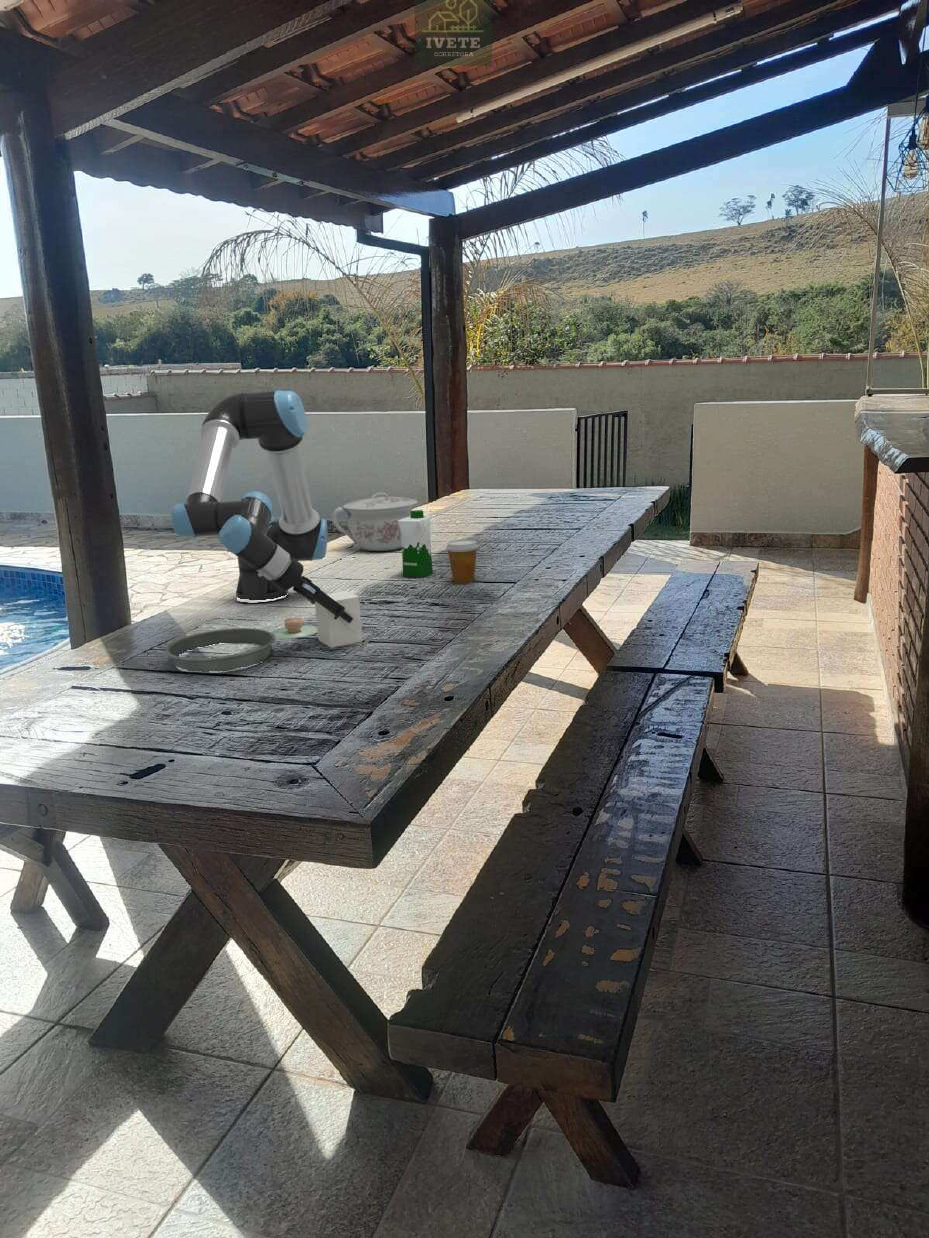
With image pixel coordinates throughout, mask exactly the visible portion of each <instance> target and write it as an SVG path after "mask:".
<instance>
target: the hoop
mask: <svg viewBox="0 0 929 1238" xmlns="http://www.w3.org/2000/svg"><path fill="white" fill-rule="evenodd" d="M271 632H272V631H269V630H265V629H261V628H255V627H254V628H252V627H251V628H250V627H246V628H245V627H236V628H233V627H232V628H221V629H214V630H208V631H203V632H202V631H201V632H198V633H194V634H191V635H188V636H183V637H181V638H179V639H177V640H174V641H172V642H171V643H169V645H167V646H166V648H165V649H164V651H165V652H164V653H165V654H166V655H167V656H168V657H169V658H171V659H172V662H173V664H174V666H175V665H176V666H177V667H180V668H182V669H186V670H188V671H198V672H199V671H201V672H209V671H228V670H233V669H236V668H241V667H247V666H250V665H253V664H257V663H260V662H262V661H264V660H265V659H267V658H268V657H269V656H270V655H271V654H272V653H271V652H272V644H273V643H274V642H275V641H276V639H277V638H276V637H275V635H274V634H273V633H271ZM219 643H232V644H251V643H255V644H254V645H259V647H256V648H254V649H251V650H248V651H243V652H240V653H235V654H229V655H223V656H210V657H211V658H185V657H179V654H182V653H184V652H185V651H187V650H193V649H195V648H197V647H204V648H206V647H205V646H209V645H213V644H219ZM209 647H210V646H209Z"/></svg>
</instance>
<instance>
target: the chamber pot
mask: <svg viewBox="0 0 929 1238" xmlns="http://www.w3.org/2000/svg"><path fill="white" fill-rule="evenodd" d="M418 502H419V501H418V500H417V499H413V498H409V497H402V496H388V494H387V493H385V492H376V493H374V494H373V495H371V497H369V498H363V499H357V500H353V501H350V502H348V503H345V504H344V505H343V506H337V508H335V509H334V511H333V513H332V523H333V525H334V527H335V528H336V529H337V530H338V532H341V533H342V534H344V535H346V537H348V538H350V540H351V541H352V542H353V543H355V544H356V545H357V546H358V547H359V548H360V549H362V550H364V551H367V552H371V551H385V552H392V551H397V550H400V549H402V546H401V533H400V529H399V525H398V520H401V519H403V518H407V517H411V511H413V510H412V508H413V506H415V505H417V504H418ZM340 513H344V514H345V515H346V521H347V526H348V529H349V531H348V530H346V529H343V528H342V526H341V525H340V524H339V522H338V517H337V516H338V514H340Z"/></svg>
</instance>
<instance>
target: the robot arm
mask: <svg viewBox="0 0 929 1238" xmlns="http://www.w3.org/2000/svg"><path fill="white" fill-rule="evenodd" d="M306 416H307V415H306V410H305V408H304V404H303V401H302V400H301V398H300V396H299V394H298V393H295V391H293V390H281V389H279V390H276V391H261V392H259V391H257V392H256V391H255V392H238V393H233V394H230V395H228V396H226V397H225V398H222V399H221V400H220V401H218V402H217V403H216V404H215V405H214V406H213V407H212V408H211V410H210V411H209V412H208V413H207V414H206V416H205V418H204V419H203V422H202V424H201V428H200V438H201V440H202V441H201V445H200V449H199V453H198V456H197V460H196V463H195V467H194V468H195V469H194V472H193V476H192V479H191V482H190V488H189V491H188V494H187V498H186V501H185V503H184V502H182V503H178V504H175V505H173V506H172V508H171V513H170V519H171V525H172V528H173V529H172V530H173V532H174V533H175V534H176V536H179V537H194V538H195V537H206V536H207V537H209V536H218V541H219V543H220V544H221V545H222V546H224V547H225V548H226V549H227V550H228V551H229V552H230V553H231V554H234V555H235V556H236V557H237V563H238V571H239V576H238V580H237V585H236V589H235V598H236V597H238V598H240V599H249V600H266V599H274V598H278V597H281V596H285V595H287V593H289V590H290V589H292V590H293V592H295V593H296V594H299V595H300V596H302V597H303V598H305V599H306V600H307V601H308V602H310V604H312V605H315V601H316V602H317V603H319V604H320V605H321V606H323V607H324V608H326V609H327V610H328V611H330V612H331V613H333V614H334V615H335V617H334V619H335V620H336V619H337V618H338V619H339V620H340V621H342V622H343V623H344V624H345V625H347V626H348V627H349V628H351V629H352V630H353V631H354V632H356V633H357V632H358V631H359V630H360V628H361V629H362V627H363V625H364V623H363V622H362V620H361V621H360V620H358V619H357V618H356V617H354V616H353V615H352V614H351V613H349V612H348V611H347V610H346V609H345V608H344V606H341V605H340V604H339V603H337V602H336V601H335V600H333V599H332V598H331V597H329V596H328V595H327V594H328V593H325V592H324V591H323V590H322V589H321V588H320V587H319V586H318V585H316V584H315V583H314V582H313V581H312V580H311V579H310V578H308V577H305V576H304V575H302V574H303V573H304V565H303V564H302V563H301V562H303V561H304V562H307V561H310V562H311V561H312V562H313V561H317V560H322V559H324V558H325V557H326V555H327V551H328V549H327V547H328V522H327V521H328V520H327V519H325V518H321V517H320V515H319V513H318V512H317V510H315V509H314V508H313V506H312V501H311V496H310V491H309V487H308V482H307V478H306V472H305V468H304V463H303V459H302V454H301V448H300V444H301V443H302V442H303V439H304V436H305V435H306V434H307V431H308V421H307V418H306ZM241 440H257V441H258V444H259V446H260V448H261V449H262V450H263V451H266V453H267V457H268V462H269V466H270V470H271V474H272V478H273V483H274V487H275V491H276V495H277V499H278V502H279V506H280V511H281V516H280V518H279V520H278V521H276V519H275V517H274V516H273V515H272V514H273V502H272V500H271V499H270V498H269V497H268V496H267V495H266V494H265V493H263V492H262V491H254V490H253V491H250V492H248V493H245V494H244V495H243V496H241V499H240V500H231V501H230V500H229V501H222V496H223V493H224V488H225V484H226V480H227V476H228V471H229V468H230V463H231V459H232V455H233V450H234V449H235V448H236V447H237V446H238V445H239V442H240V441H241Z"/></svg>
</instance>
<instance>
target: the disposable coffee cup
mask: <svg viewBox="0 0 929 1238" xmlns="http://www.w3.org/2000/svg"><path fill="white" fill-rule="evenodd" d="M478 546H479V545H478V544H477V540H473V539H456V540H450V541H448V542H447V543H446V547H445V549H446V551H447V552H448V553H447V554H448V560H449V563H450V570H451V575H452V580H453V583H455V584H461V585H462V584H471V583H473V582H475V574H476V559H477V549H478Z"/></svg>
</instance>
